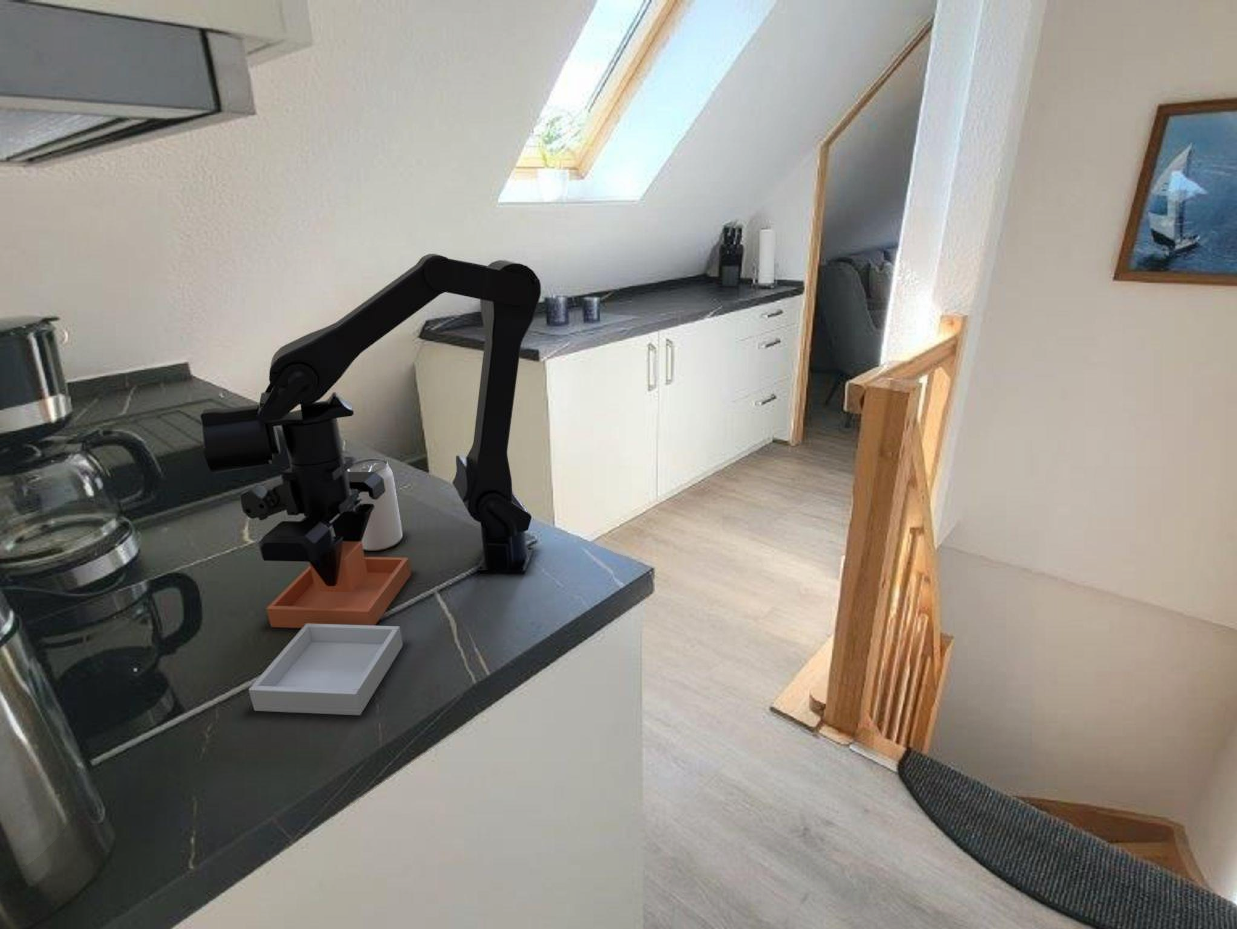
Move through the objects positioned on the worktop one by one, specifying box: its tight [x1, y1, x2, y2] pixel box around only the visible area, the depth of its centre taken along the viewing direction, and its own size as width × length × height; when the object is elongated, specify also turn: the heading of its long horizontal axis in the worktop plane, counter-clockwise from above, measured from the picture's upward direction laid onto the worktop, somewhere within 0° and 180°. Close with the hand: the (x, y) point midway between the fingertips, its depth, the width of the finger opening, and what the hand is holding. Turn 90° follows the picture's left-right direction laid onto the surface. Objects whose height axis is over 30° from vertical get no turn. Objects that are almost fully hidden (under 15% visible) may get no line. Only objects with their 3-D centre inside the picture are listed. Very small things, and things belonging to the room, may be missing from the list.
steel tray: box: [248, 624, 404, 716], centre depth 67 cm, size 11×11×3 cm
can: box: [347, 457, 403, 552], centre depth 93 cm, size 6×6×12 cm
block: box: [309, 541, 367, 592], centre depth 79 cm, size 4×4×4 cm
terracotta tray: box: [266, 556, 412, 629], centre depth 81 cm, size 12×12×3 cm
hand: (341, 574), depth 80 cm, fingers closed on block, 4 cm apart
